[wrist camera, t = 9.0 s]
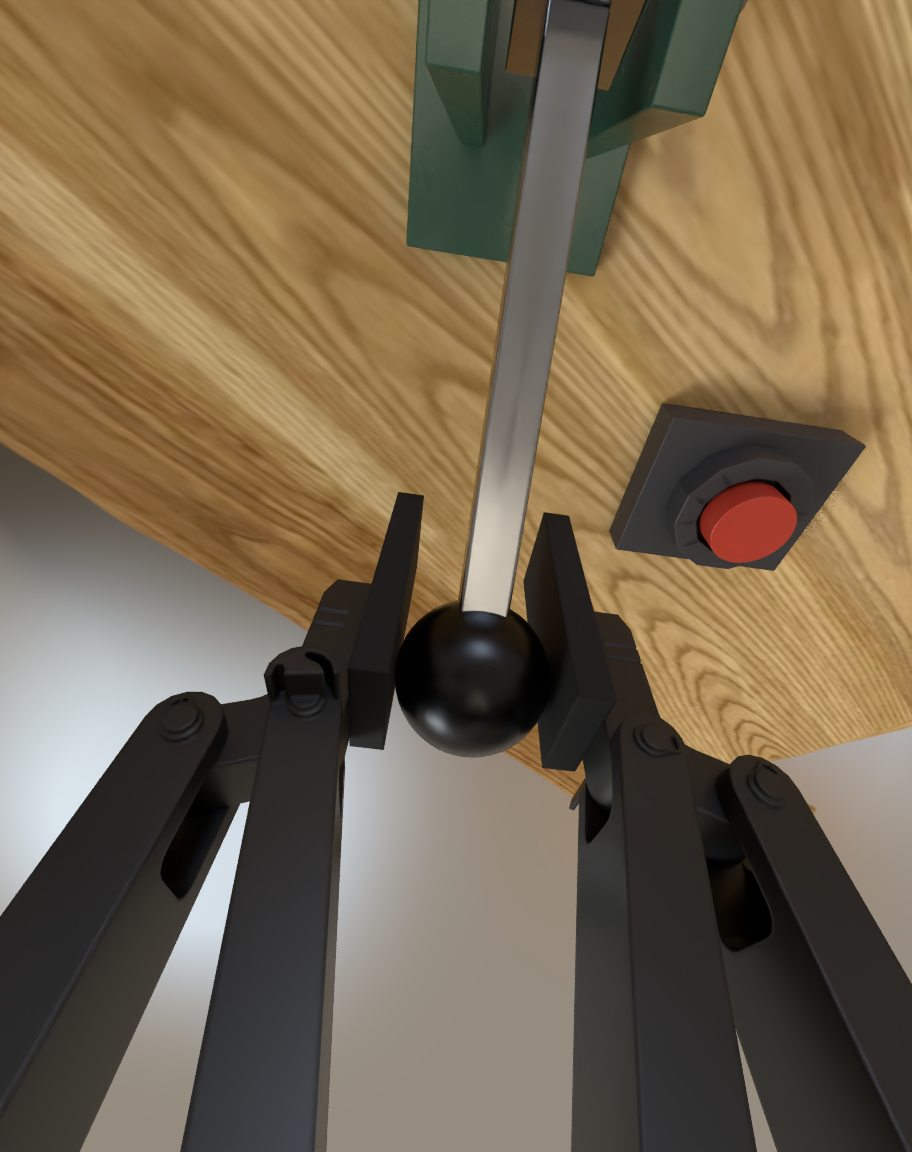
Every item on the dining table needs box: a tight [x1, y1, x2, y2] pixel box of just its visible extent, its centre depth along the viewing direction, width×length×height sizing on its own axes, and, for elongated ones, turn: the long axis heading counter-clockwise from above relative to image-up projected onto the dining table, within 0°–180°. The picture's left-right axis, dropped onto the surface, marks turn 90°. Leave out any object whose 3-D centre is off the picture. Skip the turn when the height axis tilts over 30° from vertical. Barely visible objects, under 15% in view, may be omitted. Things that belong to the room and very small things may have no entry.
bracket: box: [406, 0, 748, 276], centre depth 13 cm, size 12×9×16 cm
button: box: [700, 482, 797, 563], centre depth 26 cm, size 4×4×2 cm
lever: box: [395, 0, 647, 757], centre depth 9 cm, size 17×4×4 cm, turn 174°
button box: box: [610, 404, 866, 571], centre depth 28 cm, size 11×9×4 cm
